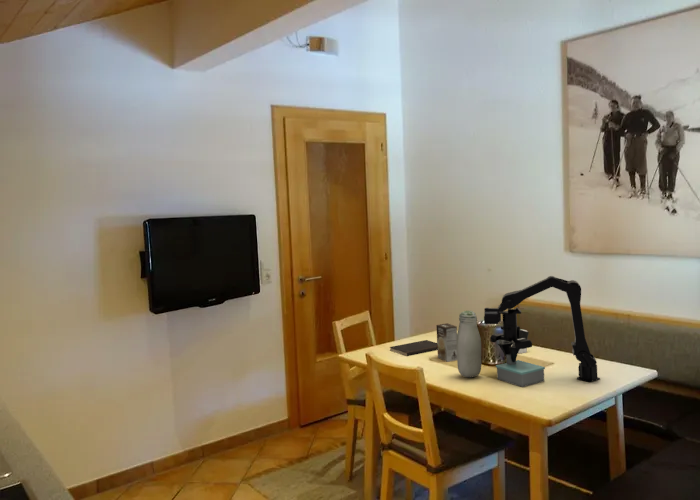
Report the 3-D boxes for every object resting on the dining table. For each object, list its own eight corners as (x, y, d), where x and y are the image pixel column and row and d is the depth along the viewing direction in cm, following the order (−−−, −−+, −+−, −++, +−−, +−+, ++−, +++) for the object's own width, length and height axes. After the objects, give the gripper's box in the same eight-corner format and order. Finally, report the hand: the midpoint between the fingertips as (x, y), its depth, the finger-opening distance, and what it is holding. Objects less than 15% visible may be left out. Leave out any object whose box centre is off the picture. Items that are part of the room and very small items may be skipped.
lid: (545, 372, 243) (544, 357, 243) (521, 377, 237) (521, 362, 237) (518, 364, 256) (518, 350, 256) (495, 370, 250) (495, 355, 249)
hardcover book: (389, 351, 310) (389, 346, 310) (426, 344, 321) (426, 339, 321) (407, 357, 296) (406, 352, 296) (445, 349, 307) (444, 345, 307)
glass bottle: (464, 381, 250) (461, 314, 248) (454, 375, 260) (451, 310, 258) (486, 378, 252) (483, 311, 250) (475, 372, 262) (472, 308, 260)
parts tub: (544, 381, 244) (543, 369, 243) (522, 387, 238) (521, 374, 237) (518, 373, 256) (518, 362, 255) (497, 379, 250) (496, 367, 250)
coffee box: (437, 357, 290) (435, 324, 289) (448, 355, 292) (447, 323, 291) (447, 362, 281) (445, 327, 280) (459, 360, 283) (457, 326, 282)
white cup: (509, 353, 291) (508, 332, 290) (513, 349, 298) (512, 329, 297) (526, 354, 287) (525, 333, 286) (529, 350, 294) (528, 329, 293)
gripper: (541, 324, 245) (542, 362, 246) (508, 318, 261) (509, 354, 263) (521, 328, 240) (522, 367, 241) (488, 322, 256) (490, 358, 257)
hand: (511, 361), depth 251 cm, fingers closed on lid, 2 cm apart
